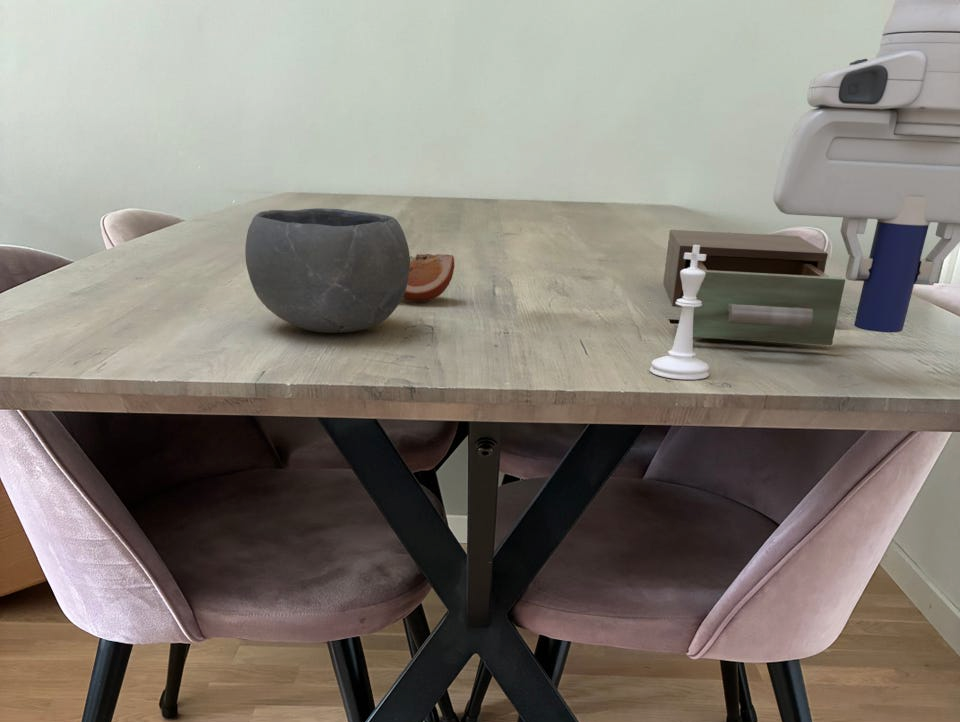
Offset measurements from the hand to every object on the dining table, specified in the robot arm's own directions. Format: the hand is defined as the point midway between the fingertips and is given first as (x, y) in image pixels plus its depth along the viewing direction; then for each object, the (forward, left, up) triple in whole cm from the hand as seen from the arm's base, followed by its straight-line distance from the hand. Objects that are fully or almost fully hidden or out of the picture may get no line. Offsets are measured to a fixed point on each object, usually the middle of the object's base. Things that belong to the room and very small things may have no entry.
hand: (888, 282), depth 77 cm
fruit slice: (+43, -25, -8) cm, 50 cm away
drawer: (+8, -14, -7) cm, 17 cm away
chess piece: (+16, +2, -8) cm, 18 cm away
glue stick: (0, 0, -4) cm, 4 cm away
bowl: (+48, -7, -8) cm, 49 cm away
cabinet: (+8, -28, -8) cm, 30 cm away
